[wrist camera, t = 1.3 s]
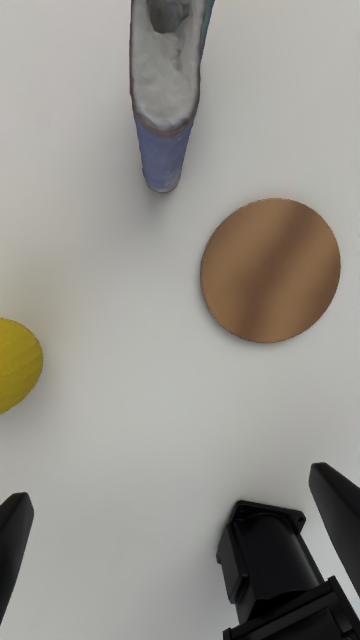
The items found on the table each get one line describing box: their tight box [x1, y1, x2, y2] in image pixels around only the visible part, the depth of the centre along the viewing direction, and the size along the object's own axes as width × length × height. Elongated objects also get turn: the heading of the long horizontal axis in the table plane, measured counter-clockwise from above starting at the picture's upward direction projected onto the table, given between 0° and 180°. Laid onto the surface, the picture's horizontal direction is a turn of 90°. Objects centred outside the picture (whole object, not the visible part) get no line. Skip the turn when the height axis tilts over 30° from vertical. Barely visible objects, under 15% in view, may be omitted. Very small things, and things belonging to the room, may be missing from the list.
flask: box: [129, 0, 215, 193], centre depth 12 cm, size 9×3×11 cm, turn 168°
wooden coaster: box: [200, 198, 341, 343], centre depth 19 cm, size 10×10×1 cm
